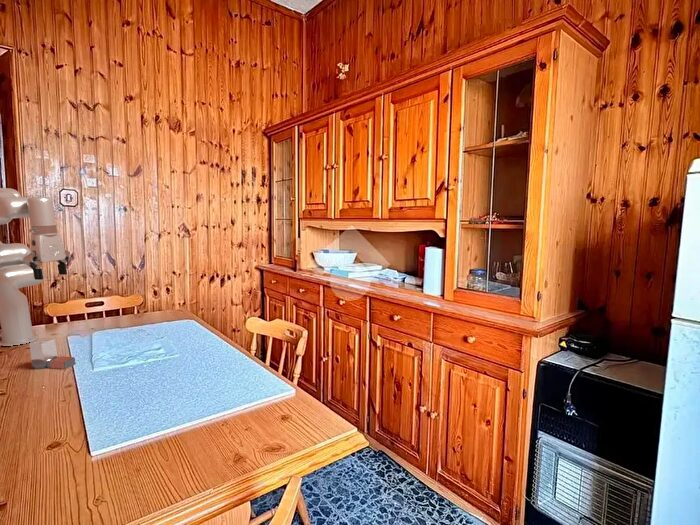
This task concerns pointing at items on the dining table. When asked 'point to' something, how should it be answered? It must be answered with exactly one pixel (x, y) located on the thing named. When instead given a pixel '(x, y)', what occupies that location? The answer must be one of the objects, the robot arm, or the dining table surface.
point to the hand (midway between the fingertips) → (51, 276)
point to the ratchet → (54, 363)
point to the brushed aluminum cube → (43, 349)
